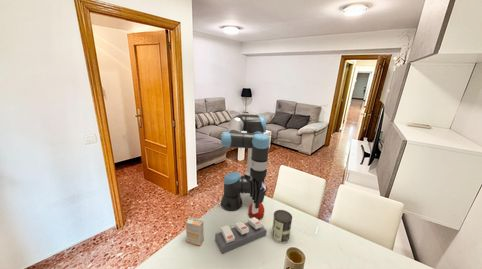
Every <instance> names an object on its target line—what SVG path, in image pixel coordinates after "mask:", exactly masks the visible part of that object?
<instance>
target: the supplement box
mask: <svg viewBox="0 0 482 269" xmlns="http://www.w3.org/2000/svg"><path fill="white" fill-rule="evenodd" d="M204 227H205V226H204V219H200V218H196V217H191V216H190V217H189V218H188V219H187V221H186V222H185V231H186V243H187V244H192V245H195V246H199V247H200V246H201V245H202V243H203V242H204V239H205V236H204V234H205V233H204V231H205V230H204Z"/></svg>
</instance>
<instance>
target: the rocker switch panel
mask: <svg viewBox="0 0 482 269" xmlns="http://www.w3.org/2000/svg"><path fill="white" fill-rule="evenodd" d="M243 223H244V222H243ZM244 224H245V225H246V226H247V227H248V228H249V232H248V233H245V234H241V233H240V232H239V231H238V230H237V229H236V228H235V226H234V227H230V229H231V231H232V233H233V235H234V237H235V239H234V241H232V242H229V243H226V241H225V239H224V236H223V234H222V232H221V231H219V232H217V233H215V234H214V240H215V242H216V244H217V246H218V248H219V250H220V252H221V254H222V255H223V254H225V253H228V252H230V251H233V250H234V249H237V248H240V247H242V246H244V245H247V244H249V243H251V242H254V241H256V240H258V239H261V238H265V237H267V234H268V229H267V228H266V226H265V225H264V224H263V223H262V227H260V228H258V229H255V228H254V227H253V226H251V225H250V224H249V223H248V221H247V222H245V223H244Z"/></svg>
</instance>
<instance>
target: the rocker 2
mask: <svg viewBox="0 0 482 269" xmlns="http://www.w3.org/2000/svg"><path fill="white" fill-rule="evenodd" d="M234 227H235V228H236V229H237V230H238V231H239V232H240V233H241V234H245V233H248V232H249V228H248V227H247V226H246V225H245V224H244V222H242V221H240V222H237V223H234Z"/></svg>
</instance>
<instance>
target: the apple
mask: <svg viewBox="0 0 482 269" xmlns="http://www.w3.org/2000/svg"><path fill="white" fill-rule="evenodd" d="M248 207H249V208H248V214H249V216H250V218H254V217H255V218H256V219H258V220H260V219H262V218H263V217H264V214H265V207H264V205H263V202H262V203H259V209H258V213H255V214H253V213H252V203H250V205H249V206H248Z"/></svg>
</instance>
